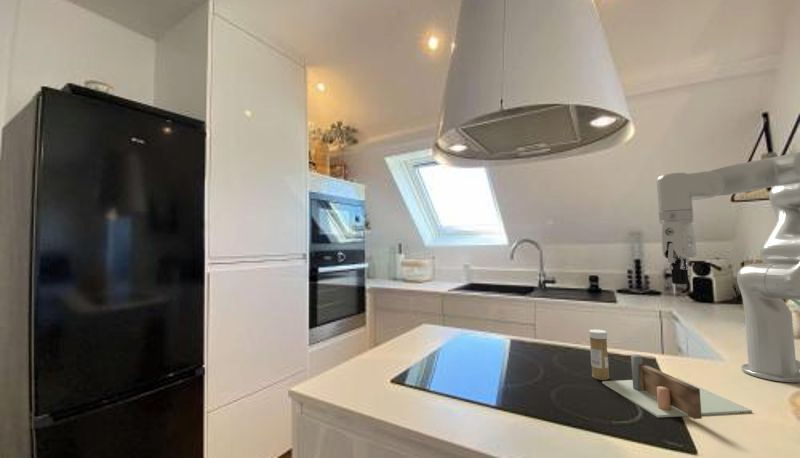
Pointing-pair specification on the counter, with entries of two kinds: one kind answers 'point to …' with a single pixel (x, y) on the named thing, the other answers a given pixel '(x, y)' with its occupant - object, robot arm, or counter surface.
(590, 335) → the sprinkles bottle
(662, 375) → the gate
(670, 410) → the gate frame
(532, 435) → the counter surface
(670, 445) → the counter surface
